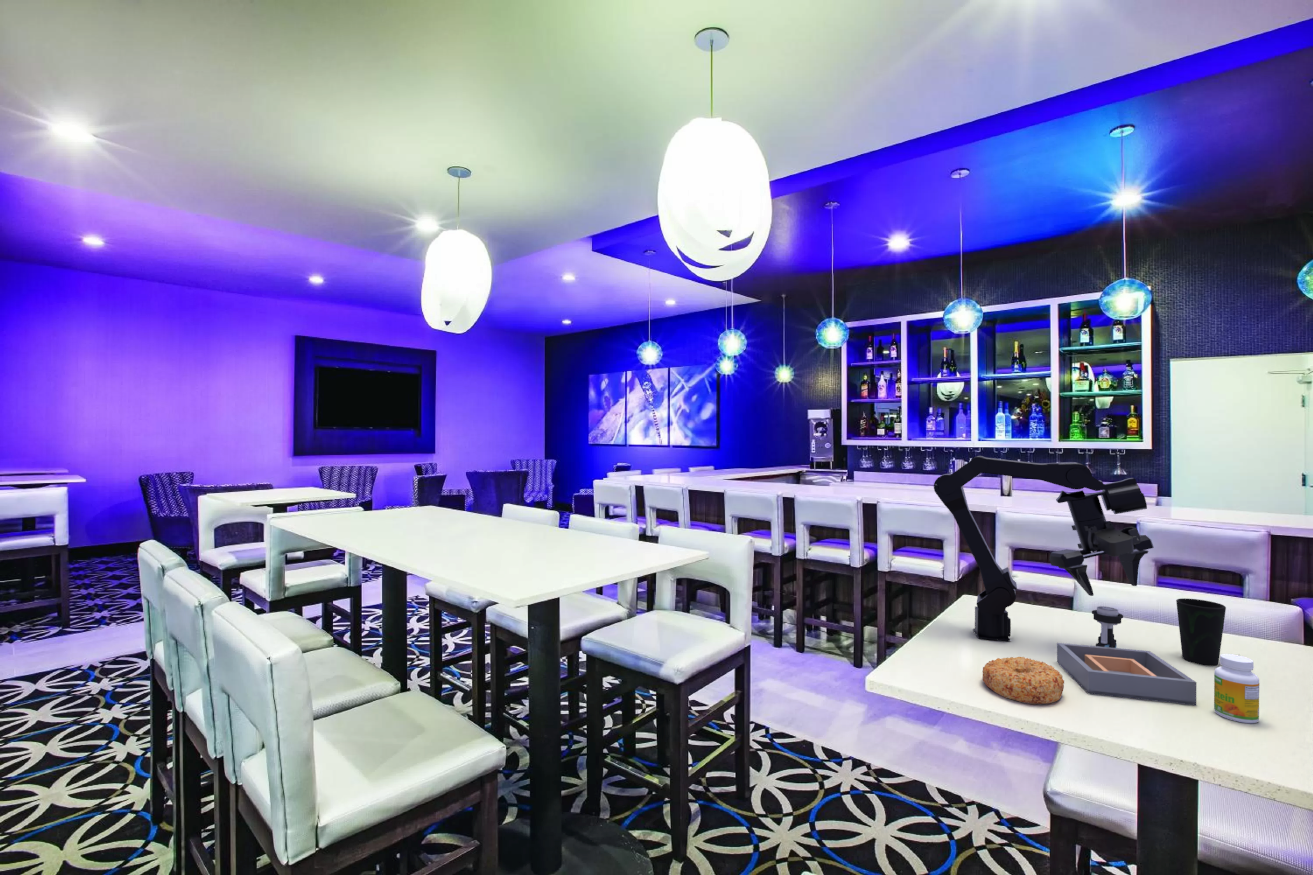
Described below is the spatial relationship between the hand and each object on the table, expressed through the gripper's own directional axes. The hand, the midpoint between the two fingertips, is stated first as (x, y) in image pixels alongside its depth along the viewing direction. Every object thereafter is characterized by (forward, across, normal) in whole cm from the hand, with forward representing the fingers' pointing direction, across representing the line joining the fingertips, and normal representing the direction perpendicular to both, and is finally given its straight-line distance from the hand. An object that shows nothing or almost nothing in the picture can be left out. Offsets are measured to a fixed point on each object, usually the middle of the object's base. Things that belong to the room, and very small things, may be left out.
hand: (1112, 590), depth 129 cm
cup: (+17, +12, -1) cm, 21 cm away
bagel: (+9, -32, -19) cm, 39 cm away
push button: (+13, -5, +1) cm, 14 cm away
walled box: (+13, -12, -14) cm, 22 cm away
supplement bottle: (+17, -4, -27) cm, 32 cm away
